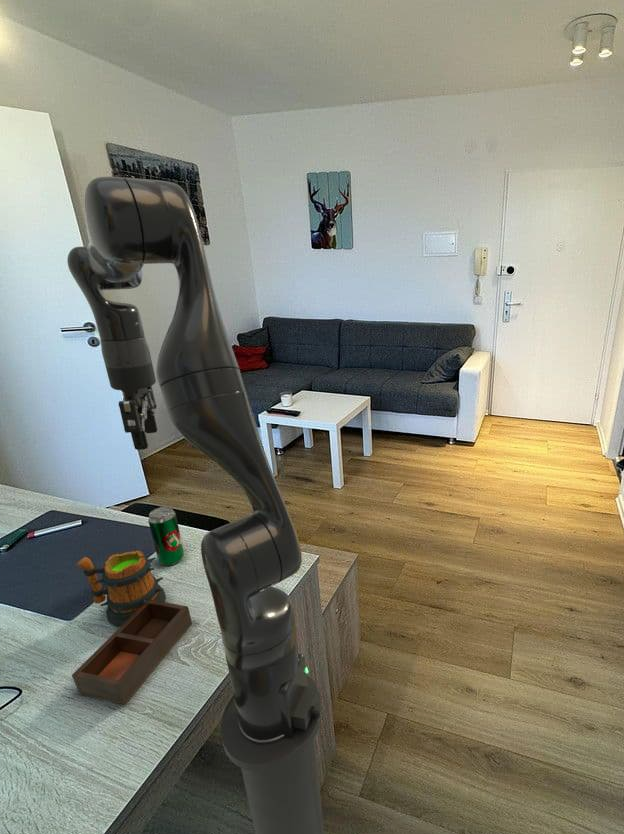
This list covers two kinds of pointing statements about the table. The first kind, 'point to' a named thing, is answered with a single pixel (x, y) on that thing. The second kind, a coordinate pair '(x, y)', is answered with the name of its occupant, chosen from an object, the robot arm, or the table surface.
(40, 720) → the table surface
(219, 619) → the robot arm
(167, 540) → the soda can
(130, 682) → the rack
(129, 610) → the mug
